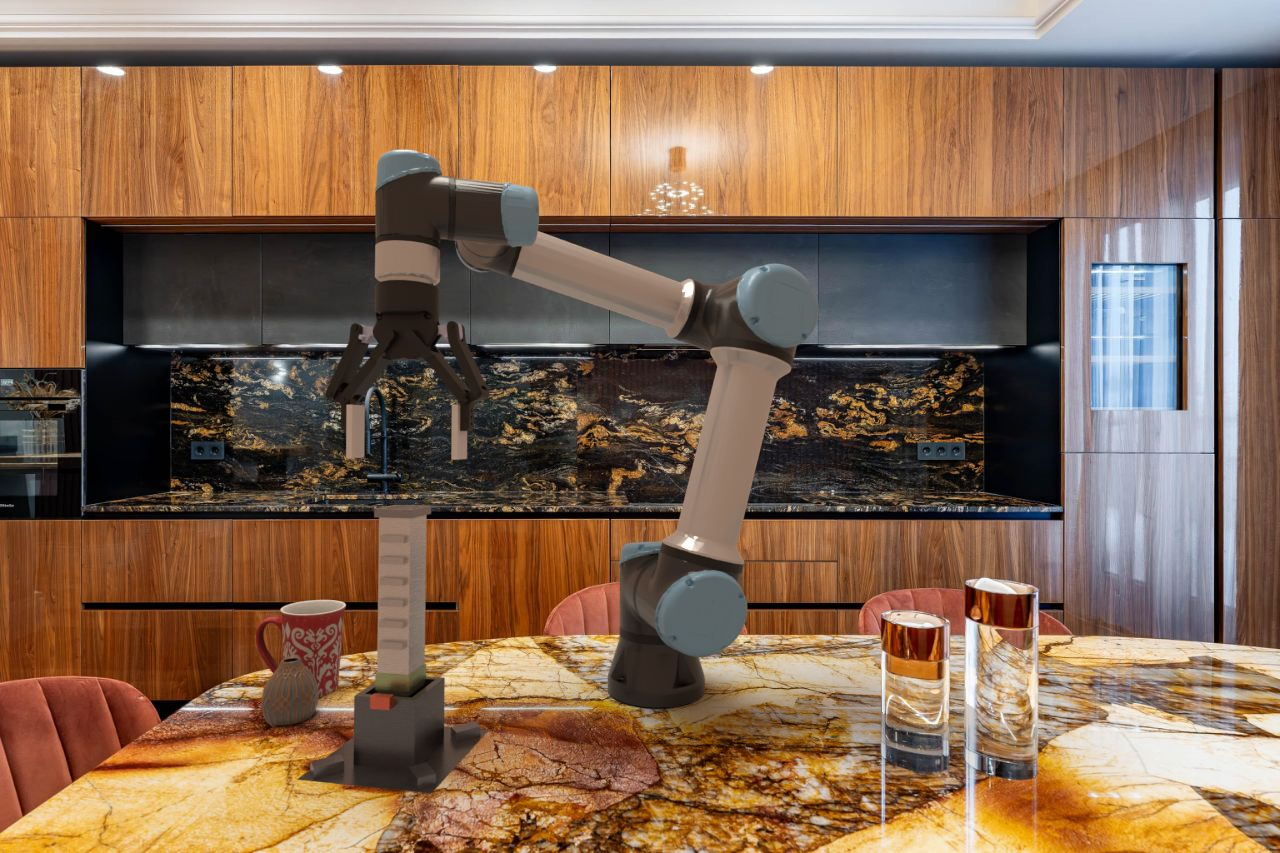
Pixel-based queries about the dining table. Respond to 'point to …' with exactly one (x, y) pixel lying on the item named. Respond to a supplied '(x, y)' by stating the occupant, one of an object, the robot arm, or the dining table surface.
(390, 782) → the stand base
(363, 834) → the dining table surface
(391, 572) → the column
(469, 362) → the robot arm
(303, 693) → the vase
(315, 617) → the mug
